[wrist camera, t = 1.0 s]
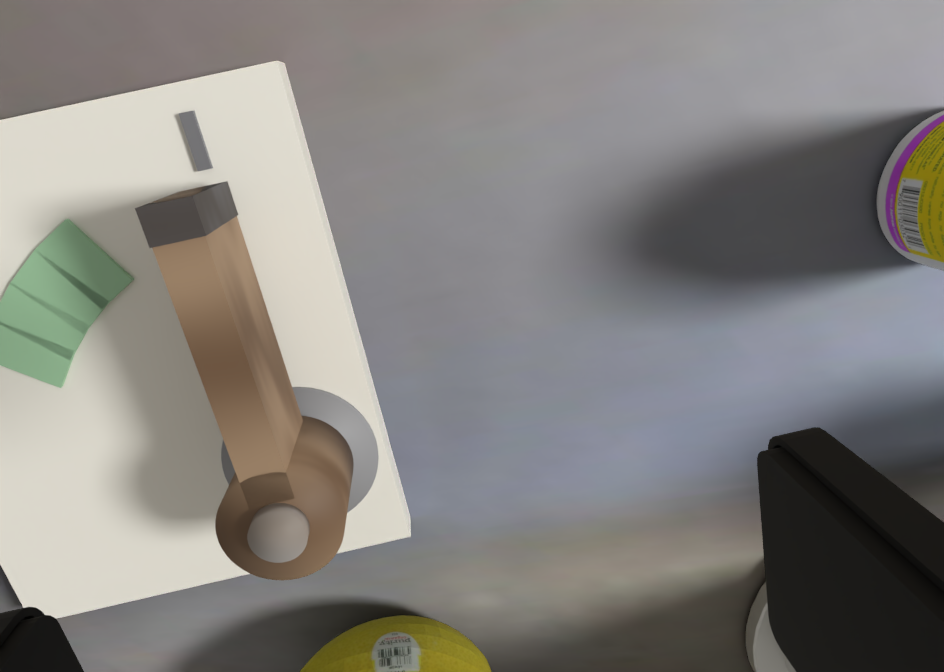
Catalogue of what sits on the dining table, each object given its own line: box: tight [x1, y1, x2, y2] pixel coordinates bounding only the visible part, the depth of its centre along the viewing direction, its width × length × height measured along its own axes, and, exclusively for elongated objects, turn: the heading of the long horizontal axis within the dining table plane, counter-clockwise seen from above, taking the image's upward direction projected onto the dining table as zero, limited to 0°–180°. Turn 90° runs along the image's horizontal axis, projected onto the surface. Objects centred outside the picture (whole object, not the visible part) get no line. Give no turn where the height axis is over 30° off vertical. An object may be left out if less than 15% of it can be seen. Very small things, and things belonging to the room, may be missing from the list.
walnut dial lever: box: [135, 181, 354, 580], centre depth 24 cm, size 14×4×5 cm, turn 12°
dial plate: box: [0, 61, 411, 619], centre depth 27 cm, size 20×17×2 cm
